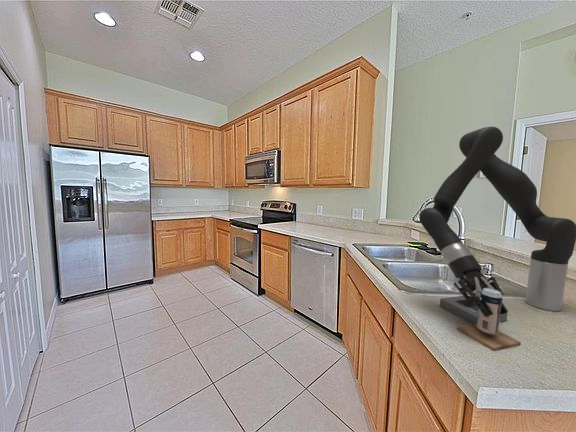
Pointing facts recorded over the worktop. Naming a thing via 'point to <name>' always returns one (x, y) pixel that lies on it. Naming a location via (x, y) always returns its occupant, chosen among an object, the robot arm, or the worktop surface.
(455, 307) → the metal collar
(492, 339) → the walnut coaster
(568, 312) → the worktop surface
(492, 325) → the beer can
